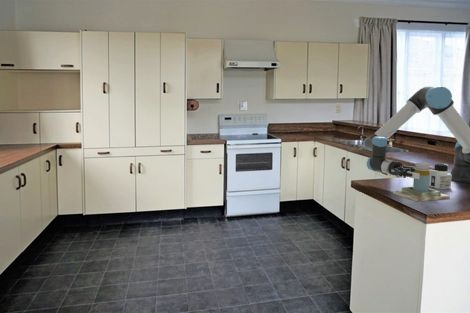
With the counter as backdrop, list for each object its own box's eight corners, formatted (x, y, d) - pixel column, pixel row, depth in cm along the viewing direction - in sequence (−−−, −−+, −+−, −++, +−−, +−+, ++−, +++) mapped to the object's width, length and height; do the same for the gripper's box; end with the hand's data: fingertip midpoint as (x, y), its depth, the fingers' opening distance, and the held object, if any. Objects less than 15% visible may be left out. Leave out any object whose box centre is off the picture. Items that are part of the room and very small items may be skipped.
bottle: (423, 191, 191) (425, 162, 189) (431, 194, 184) (433, 164, 182) (410, 191, 191) (411, 162, 189) (417, 195, 184) (419, 165, 182)
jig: (424, 190, 198) (424, 184, 198) (449, 198, 183) (450, 192, 182) (392, 193, 192) (393, 187, 192) (416, 201, 177) (416, 195, 177)
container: (439, 189, 201) (441, 165, 199) (428, 186, 209) (430, 163, 206) (450, 188, 203) (453, 164, 201) (439, 185, 211) (441, 162, 209)
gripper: (407, 172, 208) (443, 180, 189) (375, 176, 197) (410, 185, 178) (408, 159, 207) (445, 165, 188) (376, 162, 195) (411, 169, 177)
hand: (428, 175), depth 183 cm, fingers open, 13 cm apart
